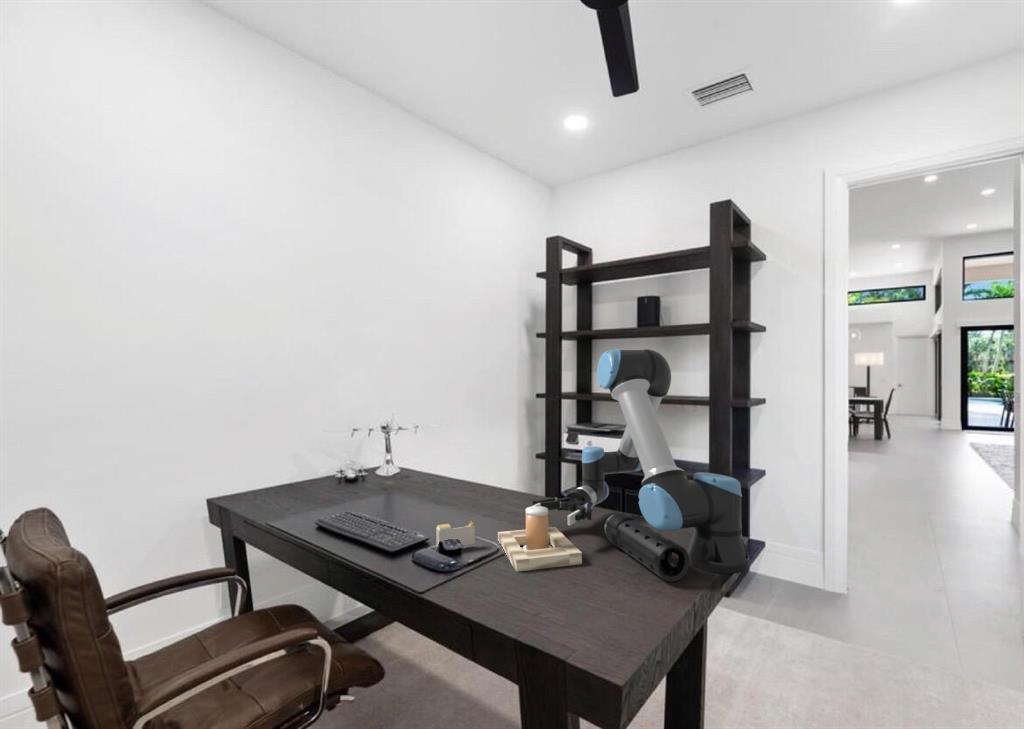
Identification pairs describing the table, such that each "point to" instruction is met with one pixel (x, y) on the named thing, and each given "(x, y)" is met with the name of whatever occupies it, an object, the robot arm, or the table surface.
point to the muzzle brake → (647, 546)
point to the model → (456, 533)
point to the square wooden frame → (539, 551)
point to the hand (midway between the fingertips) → (547, 516)
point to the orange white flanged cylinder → (536, 528)
